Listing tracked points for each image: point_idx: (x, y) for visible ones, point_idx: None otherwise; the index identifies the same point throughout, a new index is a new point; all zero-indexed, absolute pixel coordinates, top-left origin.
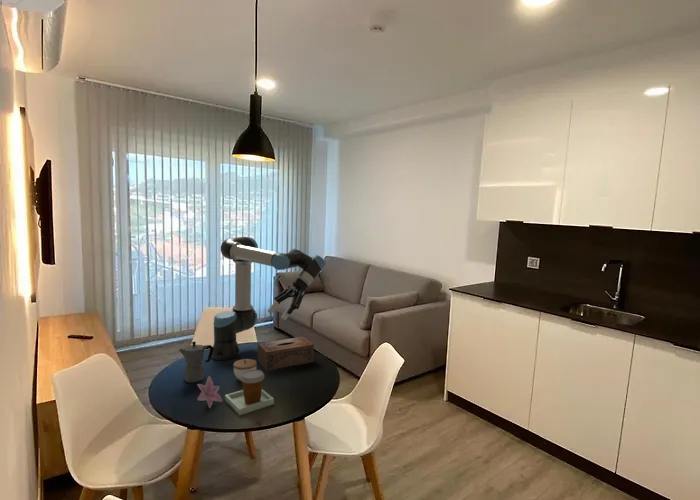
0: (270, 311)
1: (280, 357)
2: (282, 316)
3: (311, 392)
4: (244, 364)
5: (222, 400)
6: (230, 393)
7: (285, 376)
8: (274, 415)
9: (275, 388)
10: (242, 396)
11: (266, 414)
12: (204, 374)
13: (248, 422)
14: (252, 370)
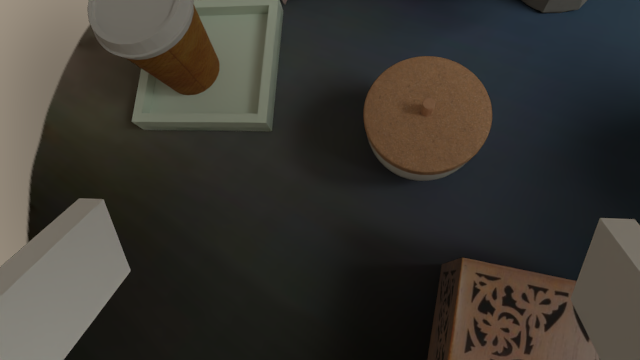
0: (597, 276)
1: (438, 354)
2: (67, 213)
3: (112, 297)
4: (403, 97)
5: (285, 3)
6: (275, 16)
7: (320, 303)
8: (86, 97)
9: (244, 198)
10: (252, 57)
11: (109, 81)
12: (545, 2)
13: None
14: (169, 16)
